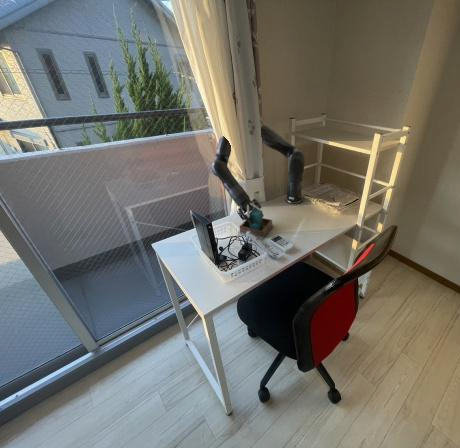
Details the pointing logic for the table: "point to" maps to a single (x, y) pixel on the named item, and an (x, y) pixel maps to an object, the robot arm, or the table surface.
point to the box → (260, 233)
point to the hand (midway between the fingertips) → (257, 220)
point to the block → (256, 219)
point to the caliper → (255, 240)
